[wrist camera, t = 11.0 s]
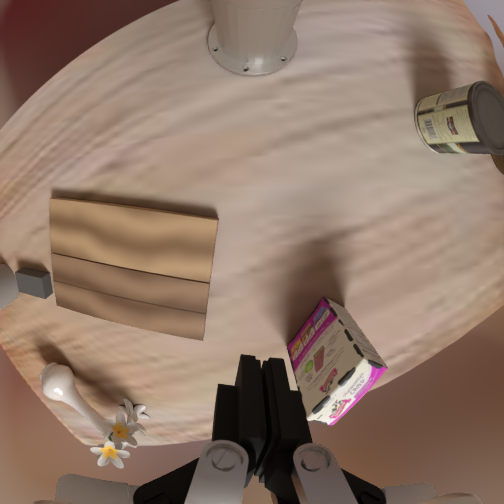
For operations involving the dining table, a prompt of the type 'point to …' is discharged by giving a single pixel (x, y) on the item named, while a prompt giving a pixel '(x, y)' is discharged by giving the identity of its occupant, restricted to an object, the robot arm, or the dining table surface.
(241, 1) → the robot arm
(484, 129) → the coffee can
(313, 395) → the candy bar box
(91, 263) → the laid board
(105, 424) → the flower vase
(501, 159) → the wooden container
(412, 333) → the dining table surface
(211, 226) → the plank
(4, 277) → the cup
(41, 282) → the block
